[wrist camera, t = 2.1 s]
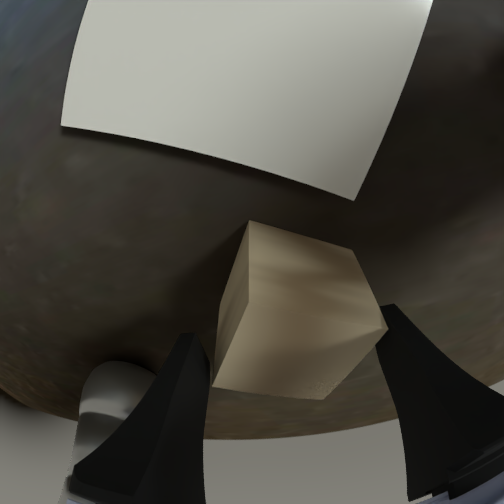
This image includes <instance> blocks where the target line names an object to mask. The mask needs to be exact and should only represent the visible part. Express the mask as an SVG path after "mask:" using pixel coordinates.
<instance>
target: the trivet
mask: <svg viewBox="0 0 504 504" xmlns="http://www.w3.org/2000/svg"><path fill="white" fill-rule="evenodd" d="M432 1H433V0H89V1H88V3H87V6H86V9H85V12H84V16H83V19H82V22H81V25H80V29H79V32H78V36H77V40H76V43H75V47H74V51H73V56H72V60H71V65H70V69H69V74H68V80H67V85H66V91H65V97H64V104H63V112H62V120H61V126H68V127H75V128H82V129H88V130H94V131H100V132H106V133H111V134H117V135H122V136H127V137H132V138H137V139H142V140H147V141H152V142H156V143H161V144H165V145H170V146H174V147H178V148H183V149H187V150H191V151H195V152H199V153H203V154H207V155H211V156H214V157H218V158H222V159H226V160H229V161H233V162H236V163H240V164H243V165H247V166H250V167H254V168H257V169H261V170H264V171H267V172H270V173H274V174H277V175H280V176H283V177H286V178H289V179H293V180H296V181H299V182H302V183H305V184H308V185H311V186H314V187H316V188H319V189H322V190H325V191H328V192H331V193H334V194H336V195H339V196H342V197H345V198H347V199H350V200H353V201H354V200H355V198H356V196H357V194H358V192H359V190H360V187H361V185H362V183H363V181H364V179H365V177H366V175H367V172H368V170H369V168H370V166H371V164H372V161H373V159H374V157H375V155H376V152H377V150H378V148H379V146H380V143H381V141H382V139H383V136H384V134H385V132H386V129H387V127H388V125H389V122H390V120H391V117H392V115H393V112H394V110H395V107H396V105H397V102H398V100H399V97H400V95H401V92H402V90H403V87H404V85H405V82H406V79H407V77H408V74H409V71H410V68H411V66H412V63H413V60H414V57H415V54H416V52H417V49H418V46H419V43H420V40H421V37H422V34H423V31H424V28H425V24H426V21H427V18H428V15H429V11H430V8H431V5H432Z"/></svg>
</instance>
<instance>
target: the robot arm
mask: <svg viewBox="0 0 504 504" xmlns="http://www.w3.org/2000/svg"><path fill="white" fill-rule="evenodd" d="M380 311H381V313H382V315H383V318H384V320H385V322H386V325H387V327H388V330H387V331H386V333H385V334H384V335H383V336H382V337H381V339H380V340H379V341H378V342H377V343H376V344H375V346H376V351H377V354H378V358H379V362H380V365H381V368H382V370H383V373H384V376H385V379H386V381H387V384H388V387H389V389H390V392H391V395H392V398H393V401H394V404H395V407H396V410H397V414H398V418H399V422H400V428H401V433H402V439H403V446H404V453H405V462H406V472H407V473H406V474H407V496H408V501H409V502H410V501H413V500H416V499H418V498H421V497H424V496H426V495H429V494H431V493H432V496H433V497H432V498H430V499H427V500H425V501H423V502H420V503H417V504H504V396H503V395H501V394H499V393H498V392H496V391H494V390H492V389H490V388H489V387H487V386H486V385H484V384H483V383H481V382H480V381H478V380H476V379H475V378H473V377H472V376H471V375H469V374H468V373H467V372H465V371H464V370H463V369H461V368H460V367H459V366H458V365H456V364H455V363H454V362H453V361H452V360H450V359H449V358H448V357H447V356H446V355H445V354H444V353H443V352H441V351H440V350H439V349H438V348H437V347H436V346H435V345H434V344H433V343H432V342H431V341H430V340H429V339H428V338H427V337H426V336H425V335H424V334H423V333H422V332H421V331H420V330H419V329H418V328H417V327H416V326H415V325H414V324H413V323H412V322H411V321H410V320H409V319H408V317H407V316H406V315H405V314H404V313H403V312H402V311H401V310H400V309H399V308H398V307H397V306H396V305H395V304H390V305H385V306H380ZM209 386H210V362H209V360H208V358H207V356H206V354H205V352H204V349H203V347H202V345H201V343H200V341H199V339H198V337H197V334H196V333H184V334H181V335H180V336H179V338H178V340H177V341H176V343H175V345H174V347H173V349H172V350H171V352H170V354H169V356H168V358H167V359H166V361H165V363H164V365H163V366H162V368H161V370H160V371H159V373H158V375H157V376H156V378H155V379H154V381H153V383H152V384H151V386H150V387H149V389H148V390H147V392H146V393H145V395H144V396H143V398H142V399H141V400H140V402H139V403H138V404H137V406H136V407H135V408H134V410H133V411H132V412H131V413H130V415H129V416H128V417H127V418H126V419H125V420H124V421H123V423H122V424H121V425H120V426H119V427H118V428H117V429H116V430H115V431H114V432H113V433H112V434H111V435H110V436H109V437H108V438H107V439H106V440H105V441H104V442H103V443H102V444H101V445H100V446H98V447H97V448H96V449H95V450H94V451H93V452H91V453H90V454H89V455H87V456H86V457H85V458H83V459H82V460H81V461H79V462H78V463H77V464H75V465H74V468H73V472H72V476H71V481H70V485H69V492H70V493H71V494H74V495H76V496H78V497H81V498H83V499H86V500H88V501H91V502H94V503H95V504H206V500H205V490H204V473H203V435H204V426H205V418H206V410H207V402H208V394H209ZM66 504H82V503H80V502H77V501H74V500H72V499H69V498H68V499H67V502H66Z"/></svg>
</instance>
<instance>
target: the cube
mask: <svg viewBox="0 0 504 504" xmlns="http://www.w3.org/2000/svg"><path fill="white" fill-rule="evenodd" d="M387 330H388V327H387V325H386V322H385V320H384V318H383V315H382V313H381V311H380V308H379V306H378V304H377V302H376V299H375V297H374V295H373V293H372V290H371V288H370V286H369V284H368V282H367V280H366V278H365V275H364V273H363V271H362V269H361V267H360V265H359V263H358V261H357V259H356V257H355V255H354V253H353V251H352V250H350V249H347V248H344V247H340V246H337V245H334V244H330V243H327V242H324V241H320V240H317V239H314V238H310V237H307V236H303V235H300V234H297V233H293V232H290V231H286V230H283V229H279V228H276V227H272V226H269V225H265V224H262V223H258V222H254V221H251V220H249V222H248V225H247V227H246V230H245V233H244V236H243V239H242V242H241V245H240V247H239V250H238V253H237V256H236V259H235V262H234V265H233V268H232V270H231V273H230V276H229V279H228V282H227V285H226V288H225V291H224V294H223V297H222V300H221V302H220V309H219V319H218V328H217V338H216V348H215V359H214V370H213V381H212V386H213V387H218V388H224V389H230V390H236V391H242V392H249V393H256V394H264V395H272V396H281V397H291V398H303V399H317V400H323V399H324V398H325V397H326V396H327V395H328V394H329V393H330V392H331V391H332V390H333V389H334V388H335V387H336V386H337V385H338V384H339V383H340V382H341V381H342V380H343V379H344V378H345V377H346V376H347V375H348V374H349V373H350V372H351V371H352V370H353V369H354V368H355V367H356V366H357V365H358V363H359V362H360V361H361V360H362V359H363V358H364V357H365V356H366V355H367V354H368V352H369V351H370V350H371V349H372V348H373V347H374V346H375V344H376V343H377V342H378V341H379V340H380V339H381V337H382V336H383V335H384V334H385V333H386V331H387Z"/></svg>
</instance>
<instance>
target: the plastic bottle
mask: <svg viewBox="0 0 504 504" xmlns="http://www.w3.org/2000/svg"><path fill="white" fill-rule="evenodd" d="M155 378H156V375H155V374H154V373H152V372H150V371H149V370H147V369H145V368H143V367H141V366H138V365H135V364H132V363H128V362H123V361H107V362H105V363H103V364H101V365H99V366H98V367H96V368H95V369H93V370H92V372H91V374H90V375H89V377H88V379H87V380H86V382H85V384H84V386H83V390H82V395H81V400H80V409H79V414H80V417H79V421H78V425H77V430H76V436H75V441H74V446H73V452H72V458H71V462H70V465H69V468H68V471H69V472H68V476H67V477H66V478H65V482H64V485H63V489H62V493H61V496H60V499H59V501H58V504H66V502H67V499H68V498H69V499H72V500H74V501H77V502H80V503H82V504H95V503H94V502H91V501H88V500H86V499H83V498H81V497H78V496H76V495H74V494H71V493H70V492H69V485H70V481H71V476H72V472H73V468H74V465H75V464H77V463H78V462H79V461H81V460H82V459H83V458H85V457H86V456H87V455H89V454H90V453H91V452H93V451H94V450H95V449H96V448H97V447H98V446H100V445H101V444H102V443H103V442H104V441H105V440H106V439H107V438H108V437H109V436H110V435H111V434H112V433H113V432H114V431H115V430H116V429H117V428H118V427H119V426H120V425H121V424H122V423H123V421H124V420H125V419H126V418H127V417H128V416H129V415H130V413H131V412H132V411H133V410H134V408H135V407H136V406H137V404H138V403H139V402H140V400H141V399H142V398H143V396H144V395H145V393H146V392H147V390H148V389H149V387H150V386H151V384H152V383H153V381H154V379H155Z"/></svg>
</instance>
